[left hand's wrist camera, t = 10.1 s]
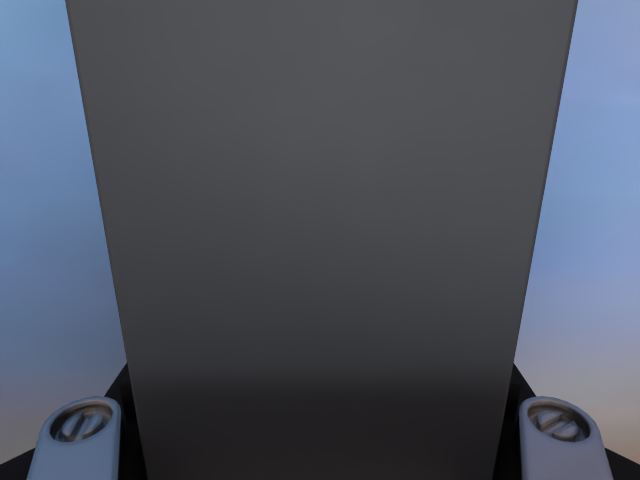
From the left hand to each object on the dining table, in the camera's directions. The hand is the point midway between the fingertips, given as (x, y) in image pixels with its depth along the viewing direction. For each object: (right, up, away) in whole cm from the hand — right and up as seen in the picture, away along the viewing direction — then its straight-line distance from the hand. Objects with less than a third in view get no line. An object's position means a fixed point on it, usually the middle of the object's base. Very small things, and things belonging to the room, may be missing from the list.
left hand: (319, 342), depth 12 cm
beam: (0, +24, -7) cm, 25 cm away
